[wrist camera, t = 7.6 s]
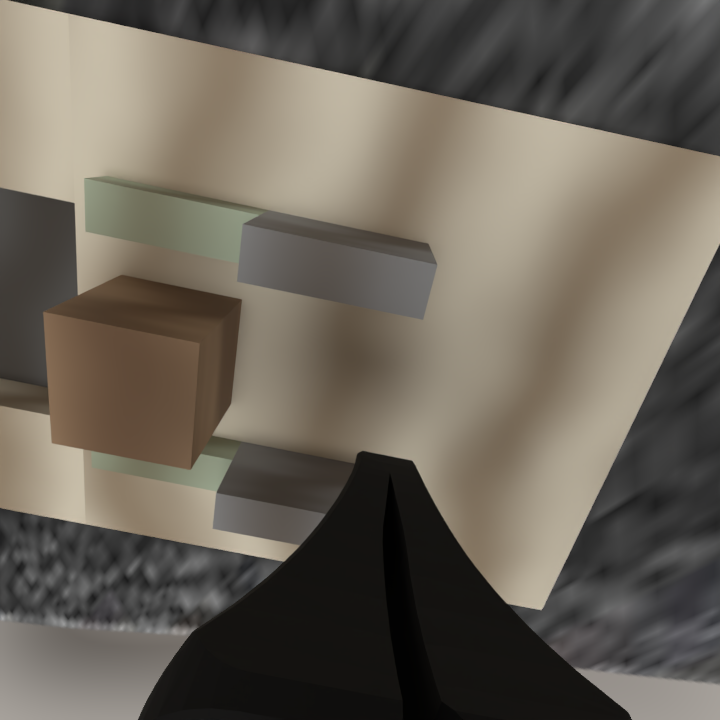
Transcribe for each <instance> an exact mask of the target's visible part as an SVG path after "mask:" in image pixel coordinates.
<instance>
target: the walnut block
mask: <svg viewBox="0 0 720 720" xmlns="http://www.w3.org/2000/svg"><path fill="white" fill-rule="evenodd" d="M241 304H242V299H238V298H233V297H228V296H223V295H219V294H214V293H209V292H204V291H199V290H194V289H189V288H184V287H179V286H175V285H170V284H165V283H160V282H155V281H150V280H145V279H140V278H135V277H130V276H126V275H120V276H117V277H115V278H113V279H111V280H109V281H107V282H105V283H103V284H101V285H99V286H96V287H94V288H92V289H90V290H88V291H86V292H84V293H82V294H80V295H78V296H75V297H73V298H71V299H69V300H67V301H65V302H63V303H61V304H59V305H57V306H54V307H52V308H50V309H48V310H46V311H44V312H43V317H44V332H45V348H46V363H47V379H48V395H49V410H50V426H51V441H52V443H53V444H58V445H63V446H68V447H73V448H79V449H84V450H89V451H94V452H99V453H104V454H110V455H115V456H120V457H125V458H130V459H136V460H141V461H146V462H151V463H156V464H161V465H167V466H172V467H177V468H182V469H187V470H191V469H192V467H193V465H194V464H195V462H196V460H197V459H198V457H199V456H200V454H201V452H202V451H203V449H204V447H205V446H206V444H207V443H208V441H209V439H210V438H211V436H212V434H213V433H214V431H215V429H216V428H217V426H218V425H219V423H220V421H221V420H222V418H223V416H224V415H225V413H226V411H227V410H228V408H229V407H230V405H231V400H232V390H233V381H234V371H235V362H236V352H237V343H238V333H239V324H240V314H241Z"/></svg>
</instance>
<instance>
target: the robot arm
mask: <svg viewBox="0 0 720 720" xmlns="http://www.w3.org/2000/svg"><path fill="white" fill-rule="evenodd" d="M138 720H632V719H631V717H630V715H629V713H628V712H627V711H626V710H625V709H623V708H622V707H621V706H620V705H618V704H617V703H616V702H614V701H613V700H612V699H611V698H610V697H608V696H607V695H606V694H605V693H604V692H602V691H601V690H600V689H599V688H597V687H596V686H595V685H593V684H592V683H591V682H590V681H589V680H587V679H586V678H585V677H584V676H582V675H581V674H580V673H579V672H577V671H576V670H575V669H574V668H573V667H572V666H570V665H569V664H568V663H567V662H566V661H565V660H564V659H563V658H562V657H560V656H559V655H558V654H557V653H556V652H555V651H554V650H553V649H552V648H551V647H549V646H548V645H547V644H546V643H545V642H544V641H543V640H542V639H541V638H540V637H539V636H538V635H537V634H536V633H535V632H534V631H533V630H532V629H531V628H530V627H529V626H528V625H527V624H526V623H525V622H524V621H523V620H522V619H521V618H520V617H519V616H518V615H517V614H516V613H515V612H514V611H513V610H512V609H511V608H510V606H509V605H508V604H507V603H506V602H505V601H504V600H503V599H502V598H501V597H500V595H499V594H498V593H497V592H496V591H495V590H494V589H493V587H492V586H491V585H490V584H489V583H488V581H487V580H486V579H485V578H484V576H483V575H482V574H481V573H480V571H479V570H478V569H477V568H476V566H475V565H474V564H473V562H472V561H471V560H470V558H469V557H468V556H467V554H466V553H465V551H464V550H463V548H462V547H461V545H460V544H459V542H458V541H457V539H456V538H455V536H454V535H453V533H452V532H451V530H450V528H449V527H448V525H447V523H446V522H445V520H444V518H443V517H442V515H441V513H440V512H439V510H438V508H437V506H436V505H435V503H434V501H433V499H432V497H431V495H430V493H429V492H428V490H427V488H426V486H425V484H424V482H423V480H422V478H421V476H420V474H419V472H418V470H417V468H416V465H415V464H414V462H413V461H412V460H407V459H402V458H397V457H392V456H387V455H382V454H377V453H372V452H367V451H361V452H359V453H357V456H356V460H355V465H354V468H353V470H352V473H351V475H350V477H349V479H348V481H347V483H346V484H345V486H344V488H343V489H342V491H341V493H340V494H339V496H338V498H337V499H336V501H335V502H334V504H333V505H332V507H331V508H330V509H329V511H328V512H327V513H326V515H325V516H324V518H323V519H322V520H321V522H320V523H319V524H318V525H317V527H316V528H315V529H314V530H313V532H312V533H311V534H310V535H309V536H308V537H307V538H306V540H305V541H304V542H303V543H302V544H301V545H300V546H299V547H298V548H297V549H296V550H295V551H294V552H293V553H292V554H291V555H290V556H289V557H288V558H287V559H286V560H285V561H284V562H283V563H282V564H281V565H280V566H279V567H278V568H277V569H276V570H275V571H274V572H273V573H272V574H270V575H269V576H268V577H267V578H266V579H264V580H263V581H262V582H261V583H260V584H258V585H257V586H256V587H255V588H253V589H252V590H251V591H250V592H248V593H247V594H246V595H245V596H243V597H242V598H241V599H240V600H238V601H237V602H236V603H234V604H233V605H232V606H230V607H229V608H227V609H226V610H224V611H223V612H221V613H220V614H218V615H217V616H215V617H214V618H212V619H211V620H209V621H208V622H206V623H205V624H203V625H202V626H200V627H199V628H197V629H196V630H194V631H193V632H192V633H191V635H190V636H189V637H188V638H187V640H186V641H185V642H184V644H183V645H182V646H181V648H180V649H179V651H178V652H177V653H176V655H175V656H174V657H173V659H172V661H171V662H170V663H169V665H168V666H167V668H166V669H165V671H164V672H163V674H162V675H161V677H160V679H159V680H158V682H157V683H156V685H155V687H154V689H153V691H152V693H151V694H150V696H149V698H148V699H147V701H146V703H145V705H144V707H143V710H142V712H141V714H140V716H139V719H138Z"/></svg>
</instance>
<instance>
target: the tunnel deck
mask: <svg viewBox="0 0 720 720" xmlns="http://www.w3.org/2000/svg"><path fill="white" fill-rule="evenodd" d="M719 244H720V156H715V155H711V154H706V153H702V152H697V151H692V150H688V149H683V148H679V147H674V146H670V145H665V144H660V143H656V142H651V141H647V140H642V139H638V138H633V137H629V136H624V135H619V134H615V133H610V132H606V131H601V130H597V129H592V128H587V127H583V126H578V125H574V124H569V123H565V122H560V121H556V120H551V119H546V118H542V117H537V116H533V115H528V114H524V113H519V112H515V111H510V110H505V109H501V108H496V107H492V106H487V105H483V104H478V103H473V102H469V101H464V100H460V99H455V98H451V97H446V96H442V95H437V94H432V93H428V92H423V91H419V90H414V89H410V88H405V87H400V86H396V85H391V84H387V83H382V82H378V81H373V80H369V79H364V78H359V77H355V76H350V75H346V74H341V73H337V72H332V71H327V70H323V69H318V68H314V67H309V66H305V65H300V64H296V63H291V62H286V61H282V60H277V59H273V58H268V57H264V56H259V55H255V54H250V53H245V52H241V51H236V50H232V49H227V48H223V47H218V46H213V45H209V44H204V43H200V42H195V41H191V40H186V39H182V38H177V37H172V36H168V35H163V34H159V33H154V32H150V31H145V30H140V29H136V28H131V27H127V26H122V25H118V24H113V23H109V22H104V21H99V20H95V19H90V18H86V17H81V16H77V15H72V14H68V13H63V12H58V11H54V10H49V9H45V8H40V7H36V6H31V5H26V4H22V3H17V2H13V1H8V0H0V508H3V509H9V510H14V511H19V512H24V513H30V514H35V515H40V516H46V517H51V518H56V519H61V520H67V521H72V522H77V523H83V524H88V525H93V526H99V527H104V528H109V529H114V530H120V531H125V532H130V533H136V534H141V535H146V536H152V537H157V538H162V539H167V540H173V541H178V542H183V543H189V544H194V545H199V546H204V547H210V548H215V549H220V550H226V551H231V552H236V553H242V554H247V555H252V556H257V557H263V558H268V559H273V560H279V561H285V560H286V559H287V558H288V557H289V556H290V555H291V554H292V553H293V552H294V551H295V550H296V549H297V548H298V547H299V546H300V545H301V544H302V543H303V542H304V541H305V540H306V538H307V537H308V536H309V535H310V534H311V533H312V532H313V530H314V529H315V528H316V527H317V525H318V524H319V523H320V522H321V520H322V519H323V518H324V516H325V515H326V513H327V512H328V511H329V509H330V508H331V507H332V505H333V504H334V502H335V501H336V499H337V498H338V496H339V494H340V493H341V491H342V489H343V488H344V486H345V484H346V483H347V481H348V479H349V477H350V475H351V473H352V470H353V468H354V465H355V460H356V456H357V453H359V452H361V451H367V452H372V453H377V454H382V455H387V456H392V457H397V458H402V459H407V460H412V461H413V462H414V464H415V465H416V468H417V470H418V472H419V474H420V476H421V478H422V480H423V482H424V484H425V486H426V488H427V490H428V492H429V493H430V495H431V497H432V499H433V501H434V503H435V505H436V506H437V508H438V510H439V512H440V513H441V515H442V517H443V518H444V520H445V522H446V523H447V525H448V527H449V528H450V530H451V532H452V533H453V535H454V536H455V538H456V539H457V541H458V542H459V544H460V545H461V547H462V548H463V550H464V551H465V553H466V554H467V556H468V557H469V558H470V560H471V561H472V562H473V564H474V565H475V566H476V568H477V569H478V570H479V571H480V573H481V574H482V575H483V576H484V578H485V579H486V580H487V581H488V583H489V584H490V585H491V586H492V587H493V589H494V590H495V591H496V592H497V593H498V594H499V595H500V597H501V598H502V599H503V600H504V601H505V602H506V603H507V604H512V605H517V606H522V607H528V608H533V609H538V610H542V609H543V606H544V604H545V602H546V600H547V598H548V596H549V594H550V592H551V590H552V588H553V586H554V584H555V582H556V580H557V578H558V576H559V574H560V571H561V569H562V567H563V565H564V563H565V561H566V559H567V557H568V555H569V553H570V551H571V549H572V547H573V545H574V543H575V541H576V538H577V536H578V534H579V532H580V530H581V528H582V526H583V524H584V522H585V520H586V518H587V516H588V514H589V512H590V510H591V508H592V506H593V503H594V501H595V499H596V497H597V495H598V493H599V491H600V489H601V487H602V485H603V483H604V481H605V479H606V477H607V475H608V473H609V471H610V468H611V466H612V464H613V462H614V460H615V458H616V456H617V454H618V452H619V450H620V448H621V446H622V444H623V442H624V440H625V438H626V436H627V433H628V431H629V429H630V427H631V425H632V423H633V421H634V419H635V417H636V415H637V413H638V411H639V409H640V407H641V405H642V403H643V401H644V398H645V396H646V394H647V392H648V390H649V388H650V386H651V384H652V382H653V380H654V378H655V376H656V374H657V372H658V370H659V368H660V365H661V363H662V361H663V359H664V357H665V355H666V353H667V351H668V349H669V347H670V345H671V343H672V341H673V339H674V337H675V335H676V333H677V330H678V328H679V326H680V324H681V322H682V320H683V318H684V316H685V314H686V312H687V310H688V308H689V306H690V304H691V302H692V300H693V298H694V295H695V293H696V291H697V289H698V287H699V285H700V283H701V281H702V279H703V277H704V275H705V273H706V271H707V269H708V267H709V265H710V263H711V260H712V258H713V256H714V254H715V252H716V250H717V248H718V246H719ZM120 275H126V276H130V277H135V278H140V279H145V280H150V281H155V282H160V283H165V284H170V285H175V286H179V287H184V288H189V289H194V290H199V291H204V292H209V293H214V294H219V295H223V296H228V297H233V298H238V299H242V304H241V314H240V324H239V333H238V343H237V352H236V362H235V371H234V381H233V390H232V400H231V405H230V407H229V408H228V410H227V411H226V413H225V415H224V416H223V418H222V420H221V421H220V423H219V425H218V426H217V428H216V429H215V431H214V433H213V434H212V436H211V438H210V439H209V441H208V443H207V444H206V446H205V447H204V449H203V451H202V452H201V454H200V456H199V457H198V459H197V460H196V462H195V464H194V465H193V467H192V469H191V470H187V469H182V468H177V467H172V466H167V465H161V464H156V463H151V462H146V461H141V460H136V459H130V458H125V457H120V456H115V455H110V454H104V453H99V452H94V451H89V450H84V449H79V448H73V447H68V446H63V445H58V444H53V443H52V441H51V426H50V410H49V395H48V379H47V363H46V348H45V332H44V317H43V312H44V311H46V310H48V309H50V308H52V307H54V306H57V305H59V304H61V303H63V302H65V301H67V300H69V299H71V298H73V297H75V296H78V295H80V294H82V293H84V292H86V291H88V290H90V289H92V288H94V287H96V286H99V285H101V284H103V283H105V282H107V281H109V280H111V279H113V278H115V277H117V276H120Z"/></svg>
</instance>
